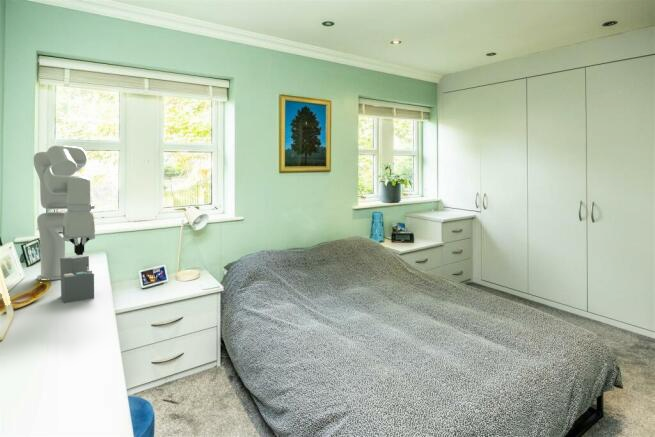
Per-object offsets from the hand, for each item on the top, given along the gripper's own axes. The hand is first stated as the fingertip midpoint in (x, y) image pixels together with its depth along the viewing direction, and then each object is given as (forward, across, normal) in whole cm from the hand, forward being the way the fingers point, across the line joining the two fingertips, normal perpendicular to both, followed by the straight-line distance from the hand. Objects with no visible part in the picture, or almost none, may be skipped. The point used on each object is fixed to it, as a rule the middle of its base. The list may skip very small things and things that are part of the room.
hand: (79, 254), depth 146 cm
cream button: (+10, +4, +1) cm, 11 cm away
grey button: (+8, -3, +2) cm, 9 cm away
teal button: (+10, 0, +1) cm, 11 cm away
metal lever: (+8, -3, 0) cm, 9 cm away
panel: (+18, +1, +1) cm, 18 cm away
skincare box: (+18, -1, -8) cm, 20 cm away
